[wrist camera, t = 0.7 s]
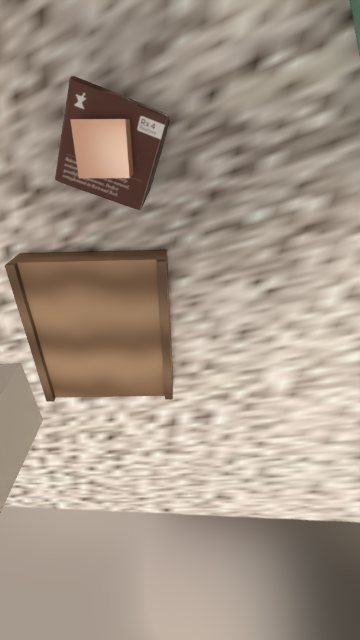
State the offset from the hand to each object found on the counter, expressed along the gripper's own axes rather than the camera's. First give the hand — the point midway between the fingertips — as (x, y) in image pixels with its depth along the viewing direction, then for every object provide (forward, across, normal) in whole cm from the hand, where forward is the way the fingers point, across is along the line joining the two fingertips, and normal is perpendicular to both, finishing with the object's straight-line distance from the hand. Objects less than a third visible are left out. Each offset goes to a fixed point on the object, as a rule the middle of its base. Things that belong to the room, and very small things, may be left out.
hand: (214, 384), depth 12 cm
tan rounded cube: (+14, -5, +7) cm, 17 cm away
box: (+22, -5, +6) cm, 24 cm away
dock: (+21, -10, -10) cm, 26 cm away
